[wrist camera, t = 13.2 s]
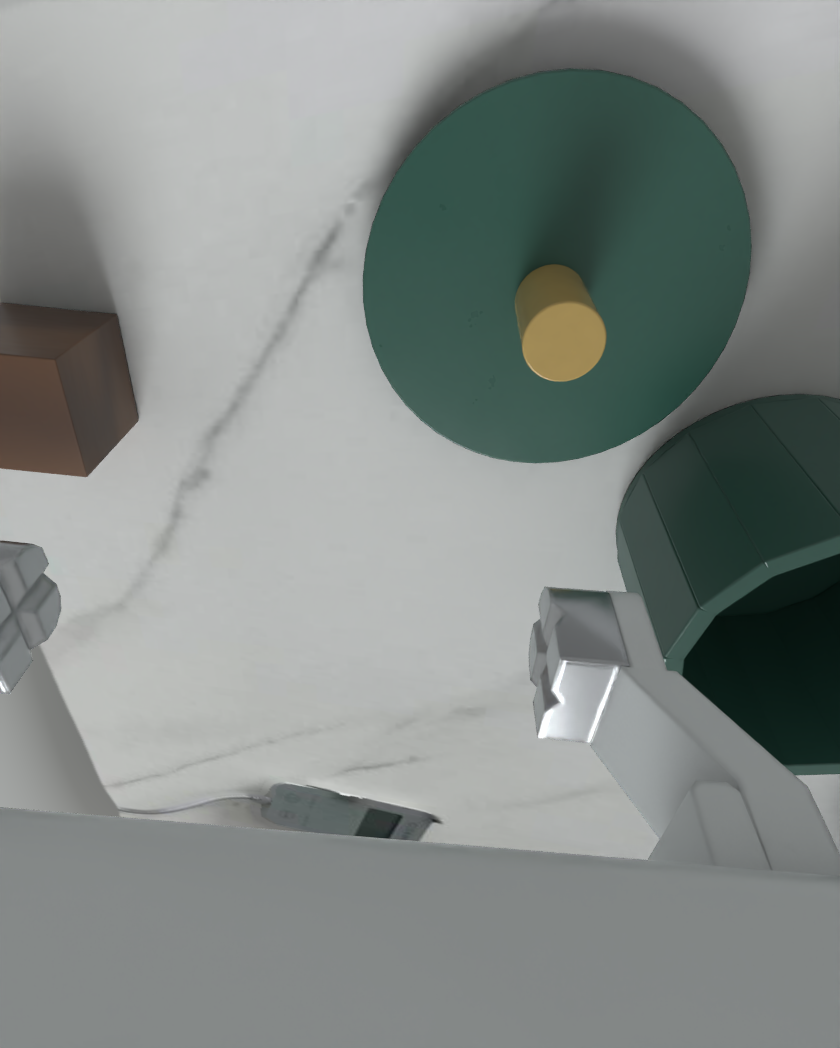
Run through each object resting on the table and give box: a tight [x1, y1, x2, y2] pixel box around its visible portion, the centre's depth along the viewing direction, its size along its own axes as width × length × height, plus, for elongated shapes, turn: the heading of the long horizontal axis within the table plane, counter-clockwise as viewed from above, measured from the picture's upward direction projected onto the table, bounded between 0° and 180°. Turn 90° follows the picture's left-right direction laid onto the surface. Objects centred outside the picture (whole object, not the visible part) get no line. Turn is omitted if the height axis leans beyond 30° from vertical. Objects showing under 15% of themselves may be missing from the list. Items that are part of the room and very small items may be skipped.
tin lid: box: [363, 68, 752, 463], centre depth 20 cm, size 13×13×5 cm
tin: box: [616, 394, 840, 775], centre depth 24 cm, size 12×12×8 cm
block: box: [0, 303, 138, 477], centre depth 24 cm, size 4×4×4 cm
